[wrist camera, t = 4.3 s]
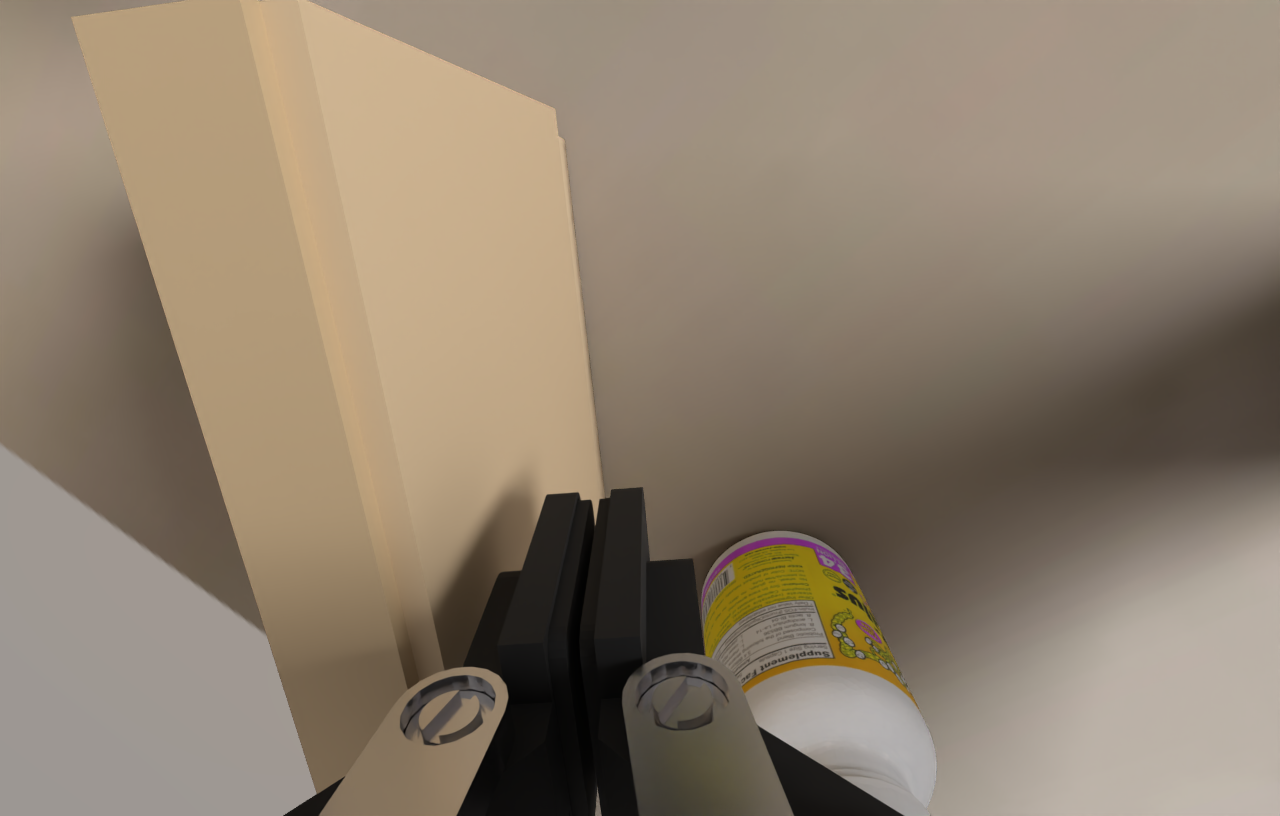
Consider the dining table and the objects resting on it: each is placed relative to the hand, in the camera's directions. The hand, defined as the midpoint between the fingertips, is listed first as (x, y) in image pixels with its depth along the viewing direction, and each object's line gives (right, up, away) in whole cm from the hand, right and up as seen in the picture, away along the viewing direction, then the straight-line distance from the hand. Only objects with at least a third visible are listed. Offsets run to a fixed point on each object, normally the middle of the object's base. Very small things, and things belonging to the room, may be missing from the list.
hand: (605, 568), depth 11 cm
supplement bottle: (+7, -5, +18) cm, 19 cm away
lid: (-4, +1, +3) cm, 5 cm away
